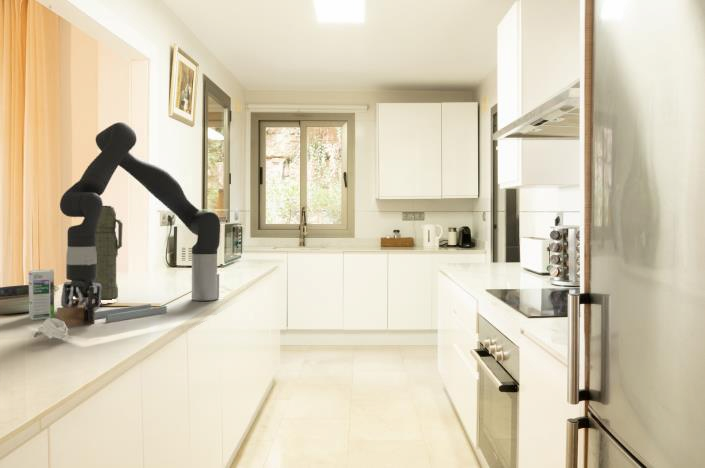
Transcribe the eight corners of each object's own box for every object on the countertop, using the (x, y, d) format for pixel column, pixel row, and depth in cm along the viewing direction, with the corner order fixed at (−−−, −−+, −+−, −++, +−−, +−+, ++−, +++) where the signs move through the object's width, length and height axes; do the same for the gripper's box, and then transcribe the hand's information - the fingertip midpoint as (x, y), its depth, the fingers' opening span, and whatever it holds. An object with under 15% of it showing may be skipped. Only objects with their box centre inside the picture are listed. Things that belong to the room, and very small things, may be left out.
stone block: (103, 311, 158) (103, 281, 158) (94, 314, 153) (94, 282, 153) (69, 311, 159) (69, 280, 159) (58, 313, 154) (58, 282, 154)
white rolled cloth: (47, 334, 124) (47, 315, 124) (74, 334, 125) (74, 315, 125) (29, 341, 116) (29, 321, 116) (59, 341, 117) (59, 321, 117)
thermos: (120, 306, 170) (120, 205, 169) (82, 307, 166) (82, 205, 166) (124, 302, 178) (124, 206, 178) (88, 303, 174) (88, 206, 174)
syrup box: (31, 320, 142) (31, 271, 142) (28, 318, 146) (28, 269, 146) (54, 318, 146) (54, 270, 145) (50, 315, 150) (50, 268, 150)
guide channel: (148, 309, 162) (148, 303, 162) (166, 312, 157) (166, 306, 157) (89, 319, 145) (89, 312, 145) (107, 322, 140) (107, 315, 140)
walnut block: (87, 321, 142) (87, 304, 142) (94, 324, 139) (94, 306, 138) (57, 325, 136) (57, 307, 136) (63, 328, 132) (63, 309, 132)
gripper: (54, 262, 139) (54, 320, 139) (82, 264, 131) (82, 326, 131) (80, 260, 145) (80, 316, 145) (109, 262, 138) (109, 321, 138)
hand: (81, 321), depth 138 cm, fingers open, 6 cm apart
